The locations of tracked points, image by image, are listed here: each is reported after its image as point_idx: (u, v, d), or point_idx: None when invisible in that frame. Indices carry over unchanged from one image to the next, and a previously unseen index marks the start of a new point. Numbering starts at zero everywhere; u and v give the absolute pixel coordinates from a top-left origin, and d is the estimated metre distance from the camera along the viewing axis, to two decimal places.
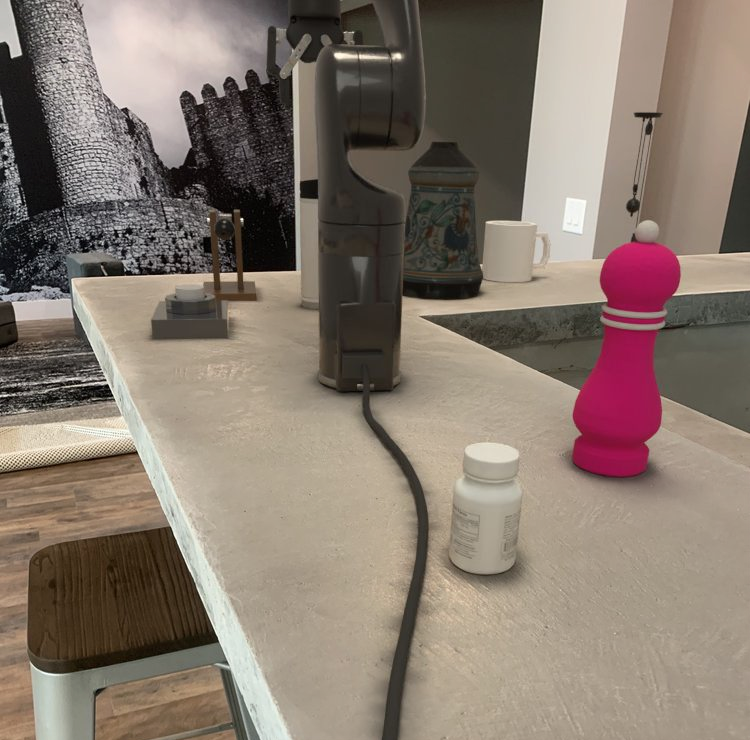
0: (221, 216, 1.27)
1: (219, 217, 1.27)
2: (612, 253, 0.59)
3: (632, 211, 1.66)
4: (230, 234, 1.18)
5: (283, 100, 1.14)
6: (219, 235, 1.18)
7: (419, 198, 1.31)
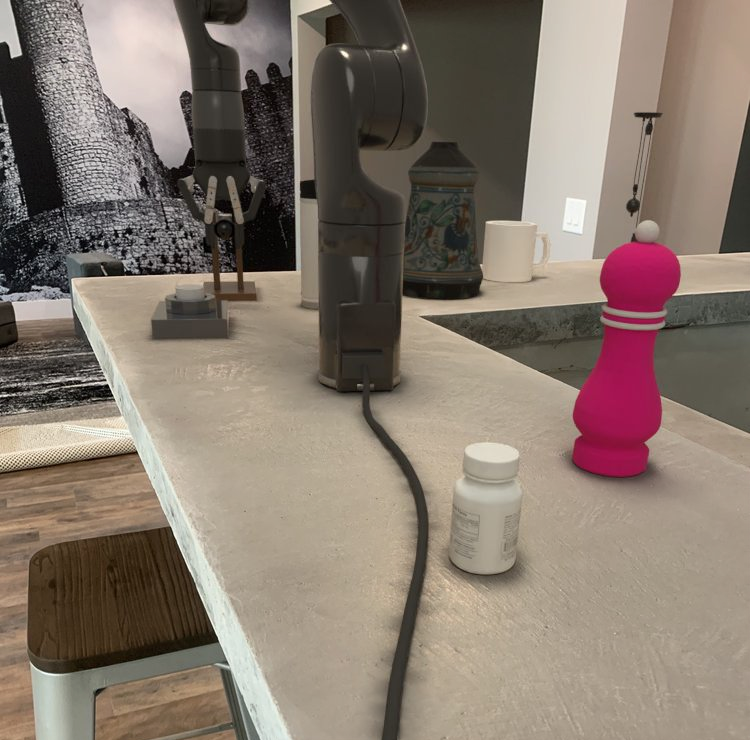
0: (221, 216, 1.27)
1: (219, 217, 1.27)
2: (612, 252, 0.59)
3: (632, 211, 1.66)
4: (230, 234, 1.18)
5: (209, 242, 1.18)
6: (219, 235, 1.18)
7: (419, 198, 1.31)
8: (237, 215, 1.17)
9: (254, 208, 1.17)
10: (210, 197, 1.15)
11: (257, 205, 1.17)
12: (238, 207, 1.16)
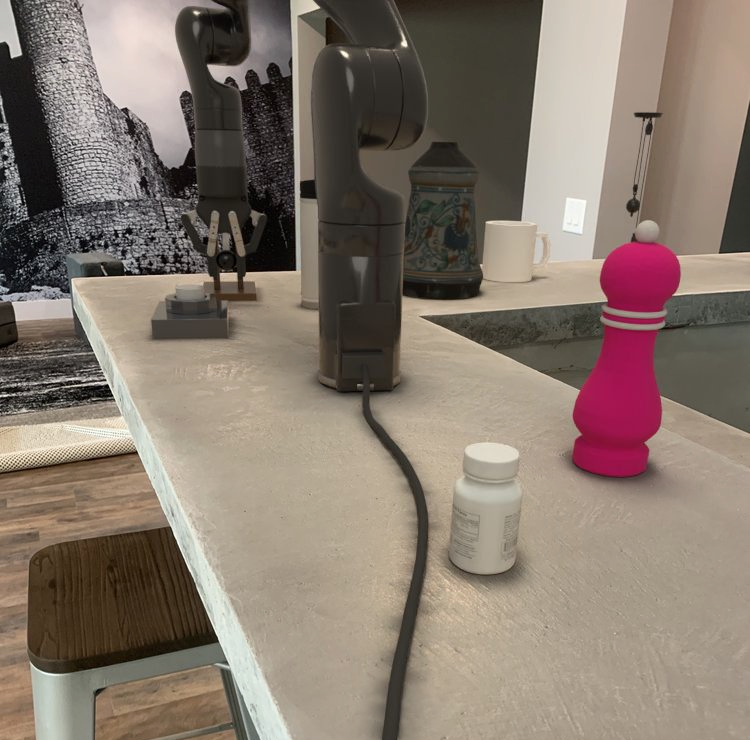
0: None
1: None
2: (612, 252, 0.59)
3: (632, 211, 1.66)
4: (232, 268, 1.22)
5: (211, 274, 1.22)
6: (221, 268, 1.22)
7: (419, 198, 1.31)
8: (239, 248, 1.20)
9: (256, 241, 1.20)
10: (212, 231, 1.18)
11: (258, 238, 1.20)
12: (240, 240, 1.19)
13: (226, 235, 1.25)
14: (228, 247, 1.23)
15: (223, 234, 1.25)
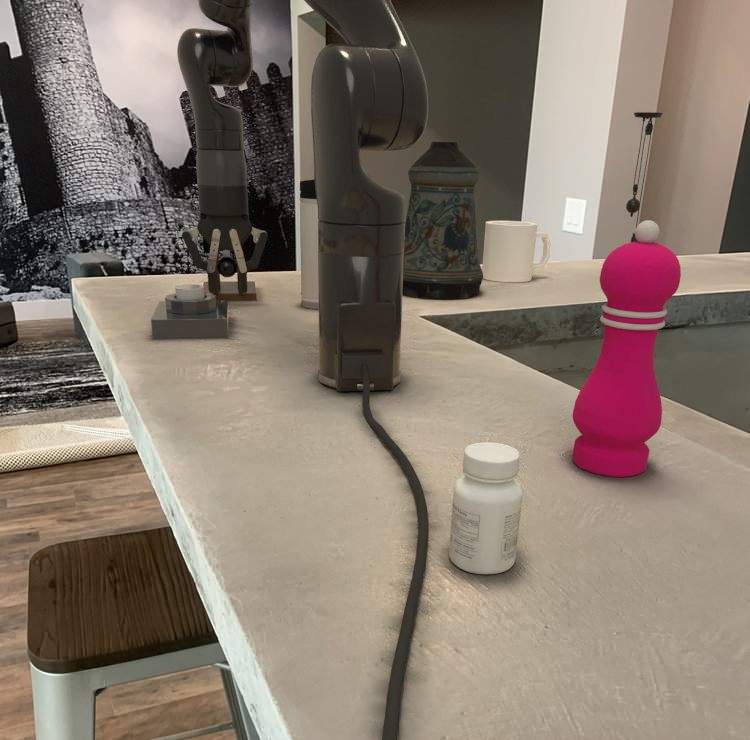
0: None
1: None
2: (612, 252, 0.59)
3: (632, 211, 1.66)
4: (232, 275, 1.23)
5: (211, 290, 1.23)
6: None
7: (419, 198, 1.31)
8: (240, 265, 1.22)
9: (257, 258, 1.22)
10: (213, 248, 1.19)
11: (259, 255, 1.22)
12: (241, 257, 1.21)
13: None
14: (228, 252, 1.24)
15: None
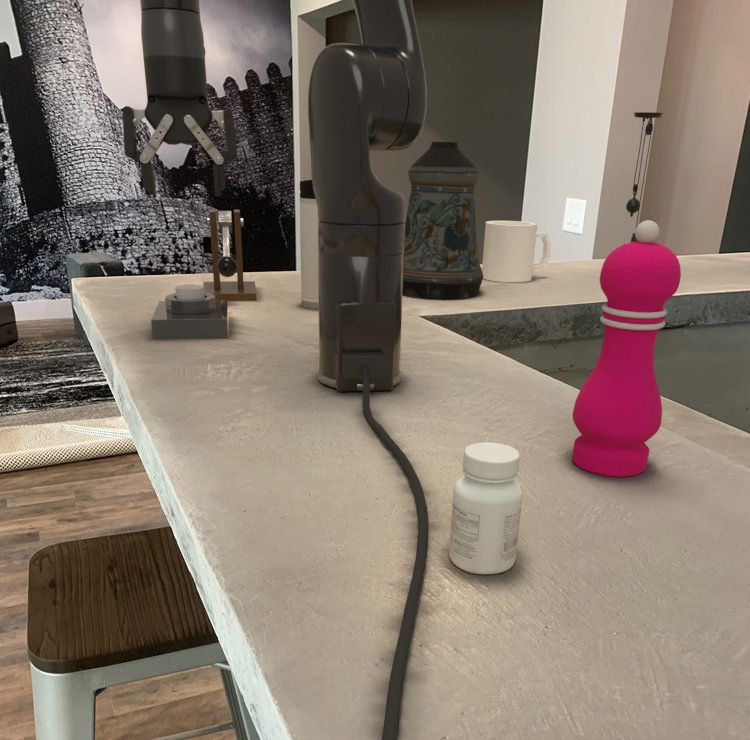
0: (221, 222, 1.27)
1: (219, 223, 1.27)
2: (612, 253, 0.59)
3: (632, 211, 1.66)
4: (232, 274, 1.23)
5: (146, 186, 1.00)
6: None
7: (419, 198, 1.31)
8: (216, 154, 1.00)
9: (232, 144, 1.00)
10: (157, 136, 0.97)
11: (233, 139, 0.99)
12: (210, 145, 0.99)
13: (226, 239, 1.25)
14: (228, 252, 1.24)
15: (223, 237, 1.26)
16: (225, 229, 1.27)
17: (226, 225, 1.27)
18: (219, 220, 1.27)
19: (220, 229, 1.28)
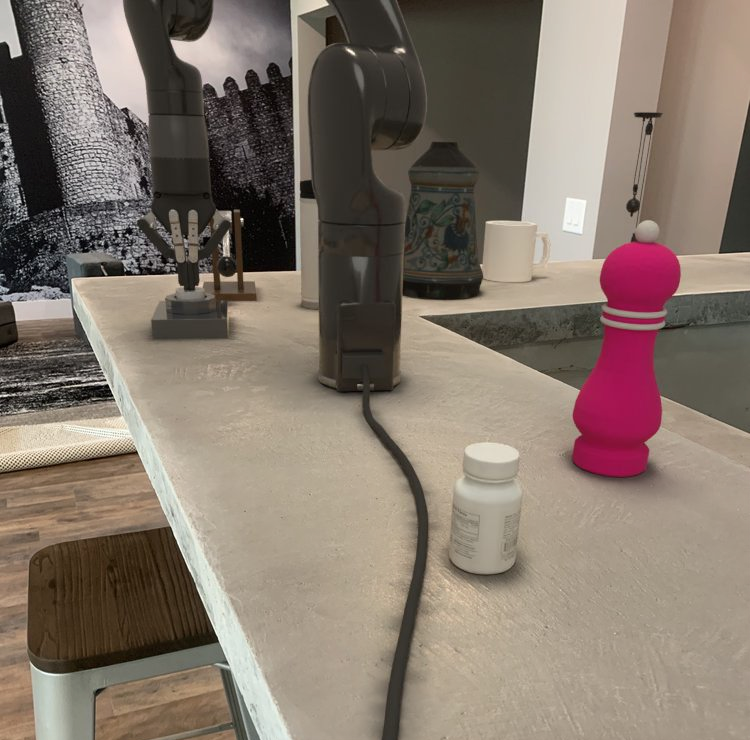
0: None
1: None
2: (612, 252, 0.59)
3: (632, 211, 1.66)
4: (232, 274, 1.23)
5: (182, 283, 1.06)
6: None
7: (419, 198, 1.31)
8: (190, 253, 1.04)
9: (211, 247, 1.04)
10: (176, 233, 1.02)
11: (215, 244, 1.04)
12: (195, 244, 1.04)
13: (226, 239, 1.25)
14: (228, 252, 1.24)
15: (223, 237, 1.26)
16: None
17: None
18: None
19: None
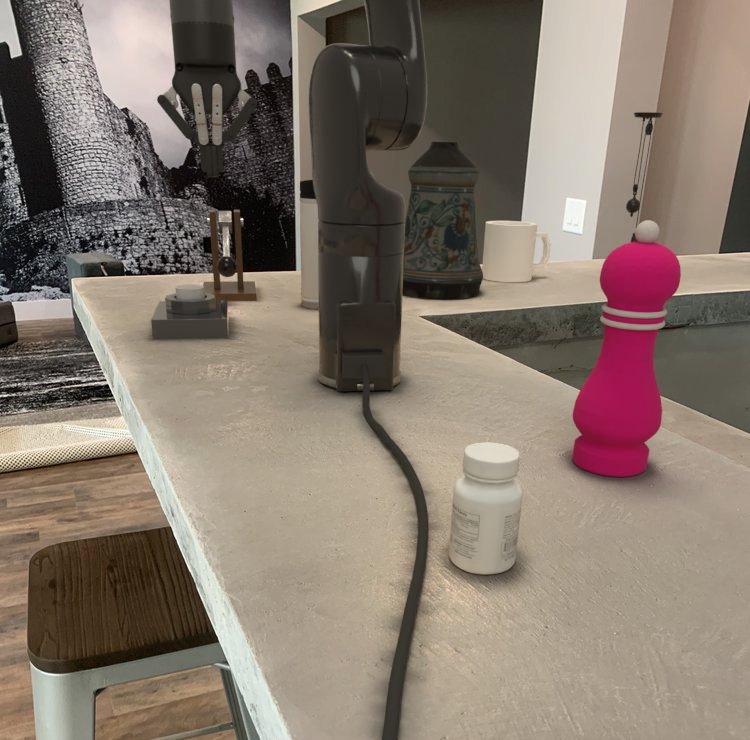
0: (221, 222, 1.27)
1: (219, 223, 1.27)
2: (612, 253, 0.59)
3: (632, 211, 1.66)
4: (232, 274, 1.23)
5: (204, 168, 0.99)
6: None
7: (419, 198, 1.31)
8: (214, 134, 0.97)
9: (237, 127, 0.97)
10: (199, 111, 0.96)
11: (241, 125, 0.97)
12: (219, 124, 0.97)
13: (226, 239, 1.25)
14: (228, 252, 1.24)
15: (223, 237, 1.26)
16: (225, 229, 1.27)
17: (226, 225, 1.27)
18: (219, 220, 1.27)
19: (220, 229, 1.28)
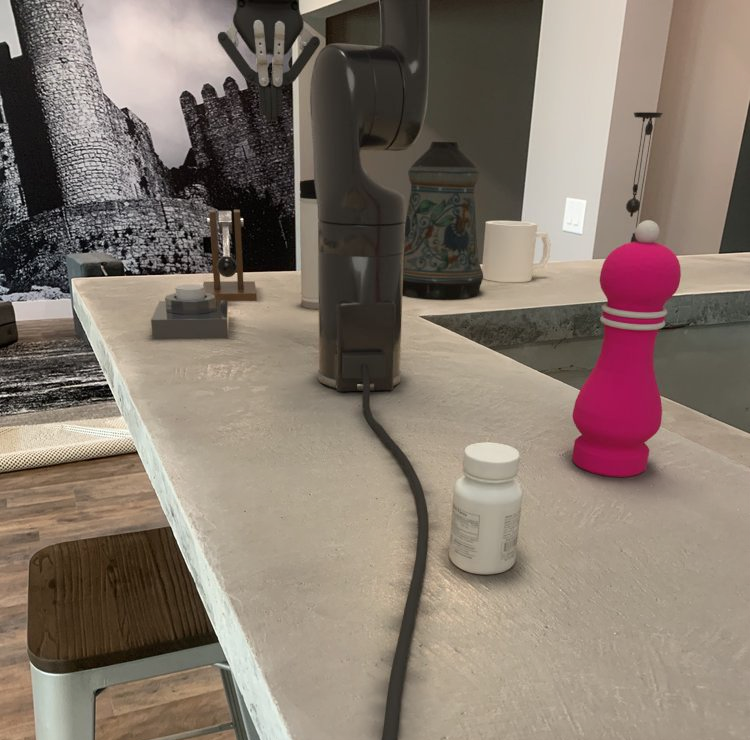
0: (221, 222, 1.27)
1: (219, 223, 1.27)
2: (612, 252, 0.59)
3: (632, 211, 1.66)
4: (232, 274, 1.23)
5: (263, 111, 0.96)
6: None
7: (419, 198, 1.31)
8: (274, 75, 0.94)
9: (298, 68, 0.94)
10: (260, 49, 0.92)
11: (302, 65, 0.94)
12: (280, 64, 0.93)
13: (226, 239, 1.25)
14: (228, 252, 1.24)
15: (223, 237, 1.26)
16: (225, 229, 1.27)
17: (226, 225, 1.27)
18: (219, 220, 1.27)
19: (220, 229, 1.28)
